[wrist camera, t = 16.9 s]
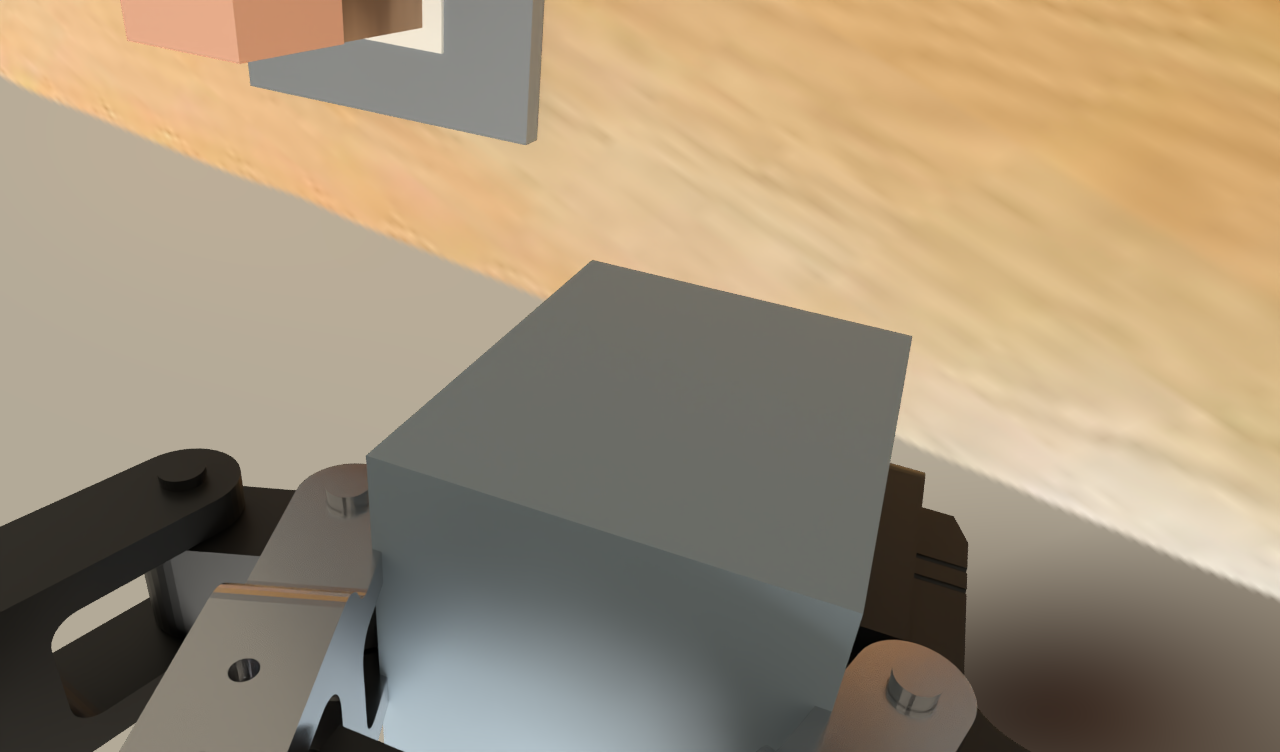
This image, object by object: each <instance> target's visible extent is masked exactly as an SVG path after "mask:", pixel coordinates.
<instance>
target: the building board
mask: <svg viewBox="0 0 1280 752" xmlns="http://www.w3.org/2000/svg"><path fill="white" fill-rule="evenodd" d="M543 14H544V0H422V28H419V29H414V30H408V31H403V32H397V33H392V34H387V35H381V36H376V37H371V38H365V39H360V40H354V41H349V42H344V44H342V45H337V46H332V47H326V48H321V49H316V50H310V51H305V52H300V53H295V54H289V55H284V56H279V57H273V58H268V59H263V60H257V61H252V62H248V66H249V75H250V84H251V86H254V87H259V88H264V89H268V90H273V91H278V92H282V93H287V94H291V95H296V96H301V97H305V98H310V99H315V100H319V101H324V102H328V103H333V104H338V105H342V106H347V107H352V108H356V109H361V110H366V111H370V112H375V113H379V114H384V115H389V116H393V117H398V118H403V119H407V120H412V121H416V122H421V123H426V124H430V125H435V126H440V127H444V128H449V129H453V130H458V131H463V132H467V133H472V134H477V135H481V136H486V137H490V138H495V139H500V140H504V141H509V142H514V143H518V144H523V145H527V144H529V143H531V142H534V141H536V140H537V125H538V107H539V88H540V70H541V51H542V33H543Z"/></svg>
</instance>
